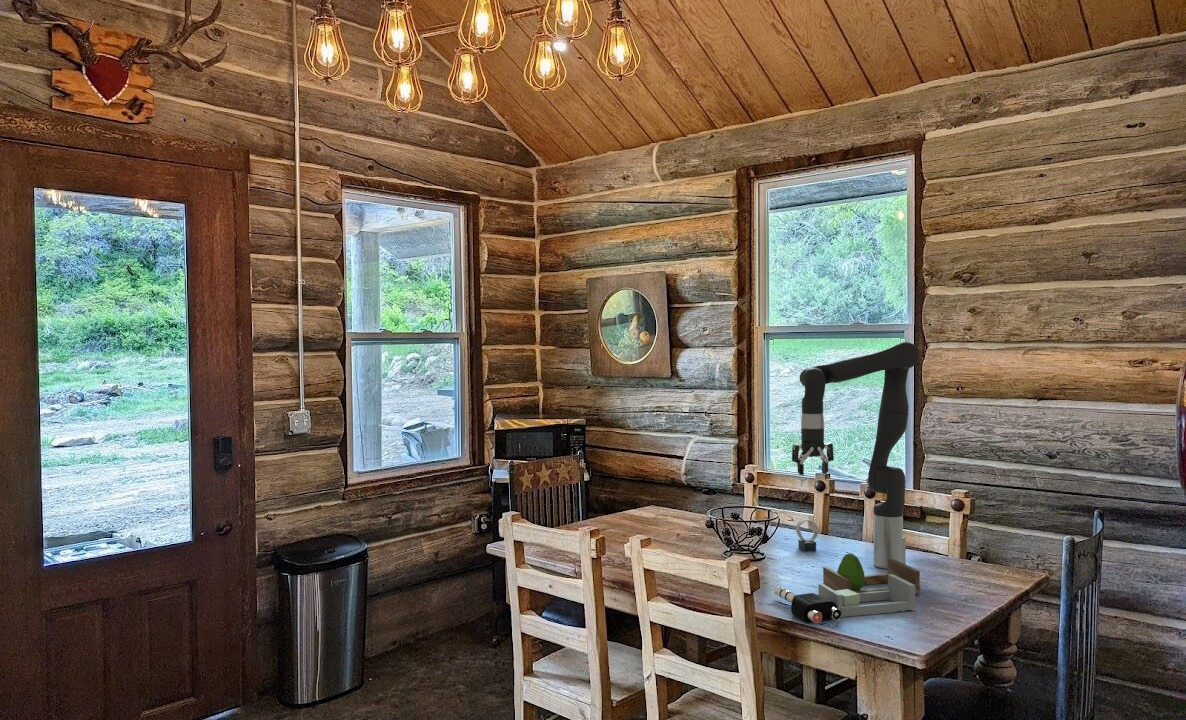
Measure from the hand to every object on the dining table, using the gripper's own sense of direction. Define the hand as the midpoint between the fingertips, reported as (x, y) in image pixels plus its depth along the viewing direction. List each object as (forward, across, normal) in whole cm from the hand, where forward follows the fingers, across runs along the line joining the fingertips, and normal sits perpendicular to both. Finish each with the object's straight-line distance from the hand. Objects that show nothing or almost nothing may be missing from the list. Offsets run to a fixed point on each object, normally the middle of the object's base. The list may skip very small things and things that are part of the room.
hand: (812, 474), depth 275 cm
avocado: (+30, +5, +33) cm, 45 cm away
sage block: (+30, +14, +46) cm, 57 cm away
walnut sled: (+30, -1, +33) cm, 45 cm away
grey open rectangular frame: (+30, +9, +46) cm, 56 cm away
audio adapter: (+30, +27, +44) cm, 60 cm away
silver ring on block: (+30, -6, -16) cm, 35 cm away
